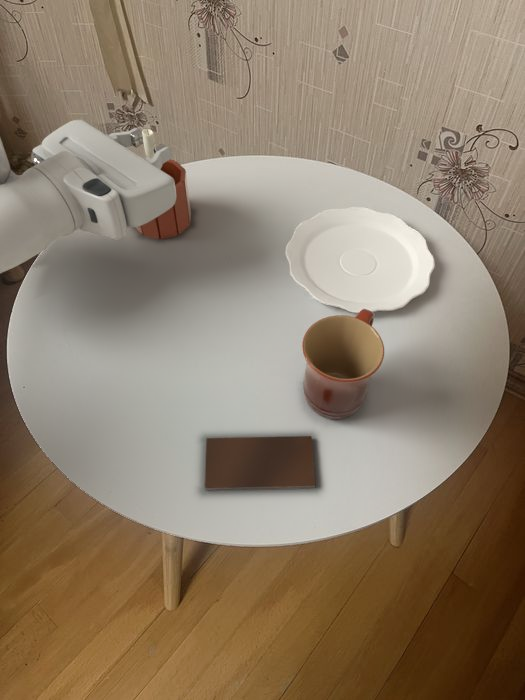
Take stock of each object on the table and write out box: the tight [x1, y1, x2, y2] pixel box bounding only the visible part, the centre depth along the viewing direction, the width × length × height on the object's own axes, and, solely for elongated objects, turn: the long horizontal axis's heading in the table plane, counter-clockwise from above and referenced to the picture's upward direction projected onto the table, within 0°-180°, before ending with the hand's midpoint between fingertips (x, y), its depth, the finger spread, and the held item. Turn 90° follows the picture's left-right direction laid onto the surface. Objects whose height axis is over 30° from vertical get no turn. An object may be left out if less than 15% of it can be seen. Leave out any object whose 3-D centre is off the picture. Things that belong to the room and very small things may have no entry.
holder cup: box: [134, 158, 192, 240], centre depth 84 cm, size 9×9×8 cm
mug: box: [301, 309, 385, 420], centre depth 65 cm, size 12×9×10 cm
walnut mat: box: [204, 435, 316, 491], centre depth 63 cm, size 12×6×1 cm, turn 92°
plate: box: [284, 206, 436, 314], centre depth 81 cm, size 21×21×2 cm
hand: (154, 142), depth 77 cm, fingers open, 4 cm apart
